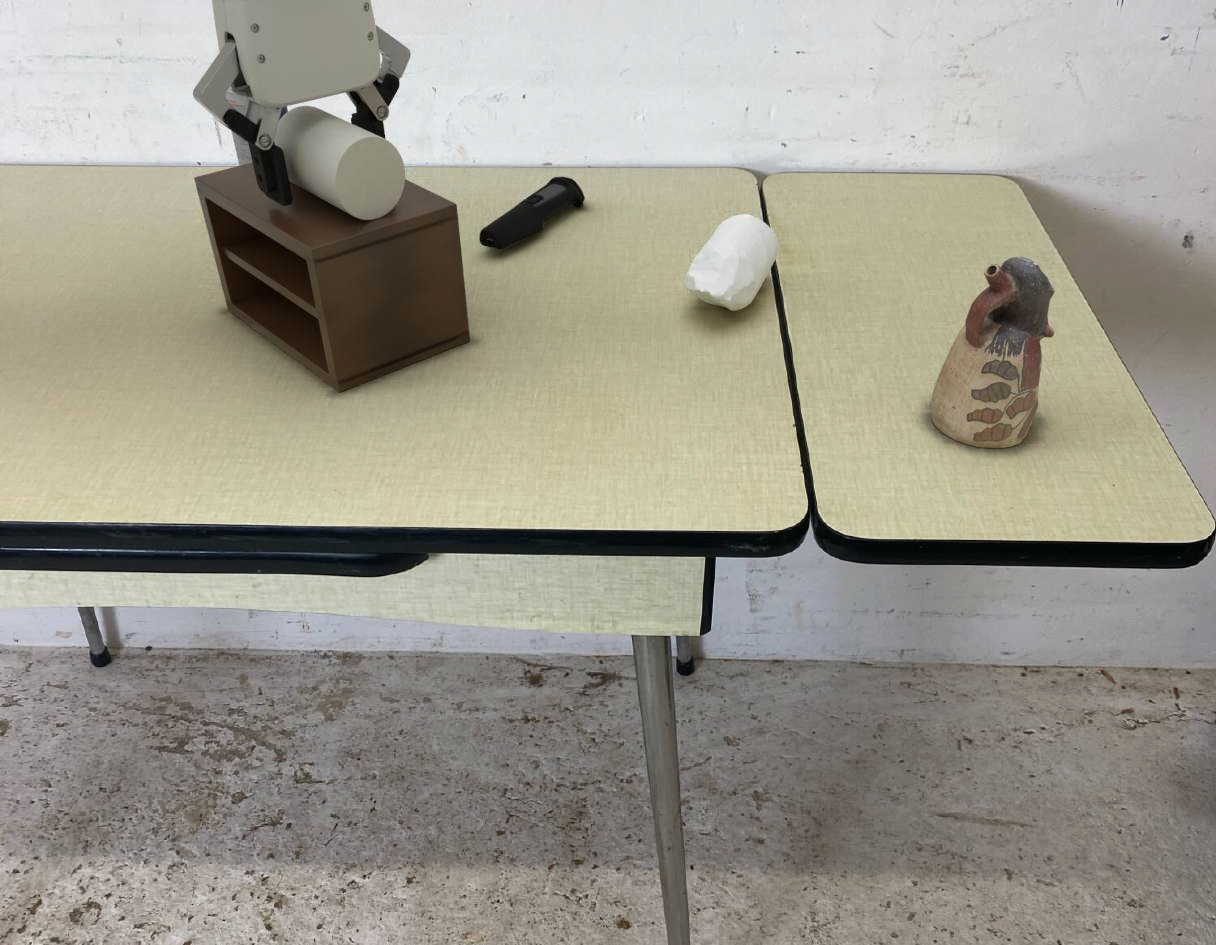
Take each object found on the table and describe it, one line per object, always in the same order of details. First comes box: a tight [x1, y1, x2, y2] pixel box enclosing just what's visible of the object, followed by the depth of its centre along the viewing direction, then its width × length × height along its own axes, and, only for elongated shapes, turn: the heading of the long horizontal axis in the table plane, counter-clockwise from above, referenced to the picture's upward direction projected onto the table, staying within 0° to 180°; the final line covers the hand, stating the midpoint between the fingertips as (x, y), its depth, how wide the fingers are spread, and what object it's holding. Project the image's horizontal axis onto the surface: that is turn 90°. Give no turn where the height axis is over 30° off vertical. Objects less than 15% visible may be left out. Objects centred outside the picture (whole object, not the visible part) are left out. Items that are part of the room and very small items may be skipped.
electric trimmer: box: [478, 176, 586, 250], centre depth 101 cm, size 4×16×3 cm, turn 152°
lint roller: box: [274, 105, 406, 220], centre depth 78 cm, size 16×6×6 cm, turn 42°
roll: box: [684, 213, 780, 312], centre depth 88 cm, size 6×12×6 cm, turn 161°
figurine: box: [931, 256, 1056, 449], centre depth 72 cm, size 7×7×12 cm
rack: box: [193, 162, 471, 393], centre depth 83 cm, size 12×18×11 cm, turn 41°
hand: (326, 184), depth 79 cm, fingers open, 7 cm apart
